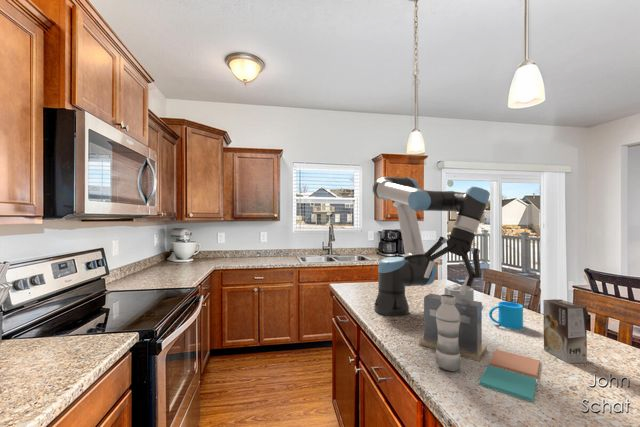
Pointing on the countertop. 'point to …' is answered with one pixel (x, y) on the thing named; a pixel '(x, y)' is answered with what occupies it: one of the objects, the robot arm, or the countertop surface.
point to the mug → (509, 315)
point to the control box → (467, 330)
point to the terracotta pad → (515, 363)
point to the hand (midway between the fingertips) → (443, 285)
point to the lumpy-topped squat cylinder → (456, 290)
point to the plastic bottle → (448, 334)
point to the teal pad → (509, 382)
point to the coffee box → (565, 330)
